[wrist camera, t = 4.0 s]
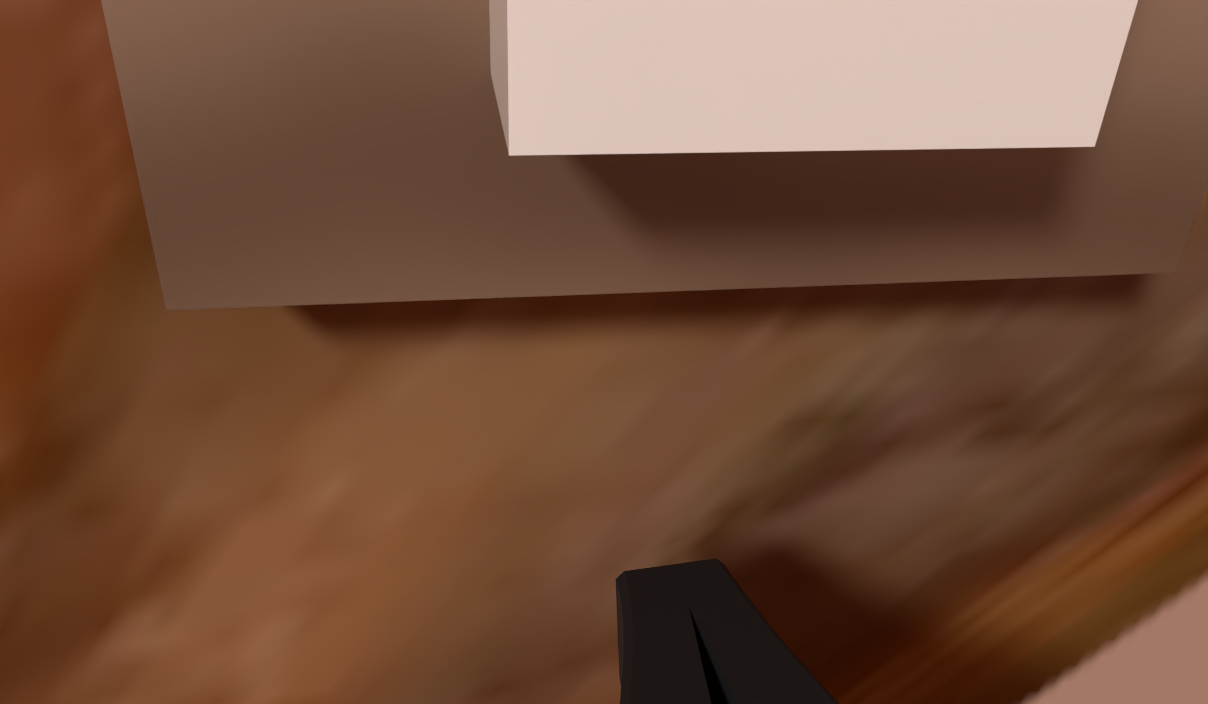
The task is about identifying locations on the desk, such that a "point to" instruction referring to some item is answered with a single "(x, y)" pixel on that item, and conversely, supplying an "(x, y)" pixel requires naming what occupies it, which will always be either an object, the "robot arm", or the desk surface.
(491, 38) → the tile
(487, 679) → the desk surface
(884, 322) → the desk surface
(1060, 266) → the platform
